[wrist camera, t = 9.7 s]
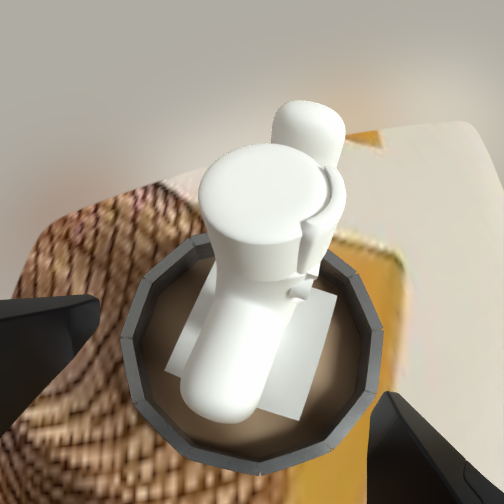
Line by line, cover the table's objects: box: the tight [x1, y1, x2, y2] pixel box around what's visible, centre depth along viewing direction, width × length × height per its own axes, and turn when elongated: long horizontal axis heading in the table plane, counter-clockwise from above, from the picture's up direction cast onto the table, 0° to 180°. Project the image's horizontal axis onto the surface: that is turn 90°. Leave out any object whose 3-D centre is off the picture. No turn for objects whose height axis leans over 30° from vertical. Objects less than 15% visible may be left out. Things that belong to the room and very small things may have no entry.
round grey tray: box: [120, 232, 384, 476], centre depth 18 cm, size 16×16×2 cm
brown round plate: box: [142, 256, 361, 458], centre depth 19 cm, size 16×16×1 cm
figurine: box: [164, 100, 346, 424], centre depth 12 cm, size 7×9×15 cm
